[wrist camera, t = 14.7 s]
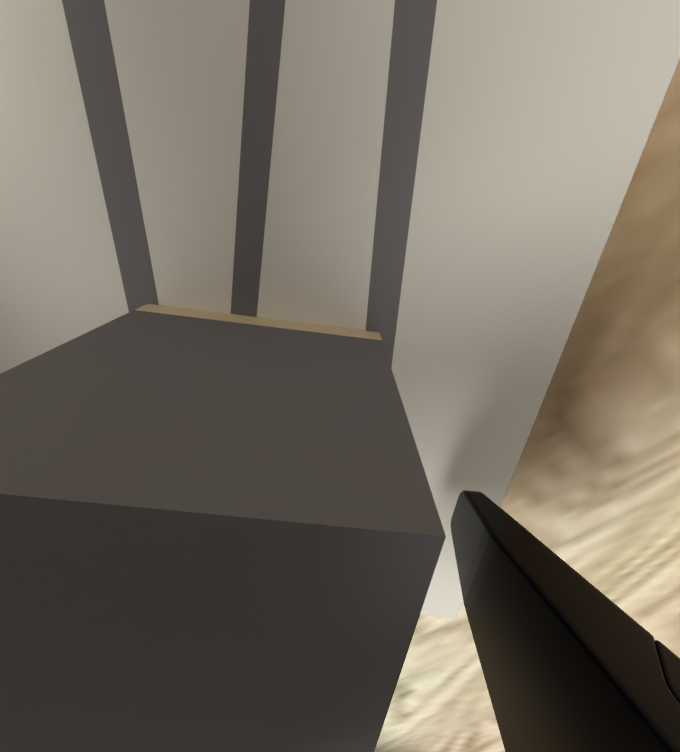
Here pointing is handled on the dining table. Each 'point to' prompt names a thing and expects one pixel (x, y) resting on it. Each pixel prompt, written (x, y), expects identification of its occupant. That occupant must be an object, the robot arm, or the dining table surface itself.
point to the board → (333, 186)
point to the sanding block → (207, 538)
